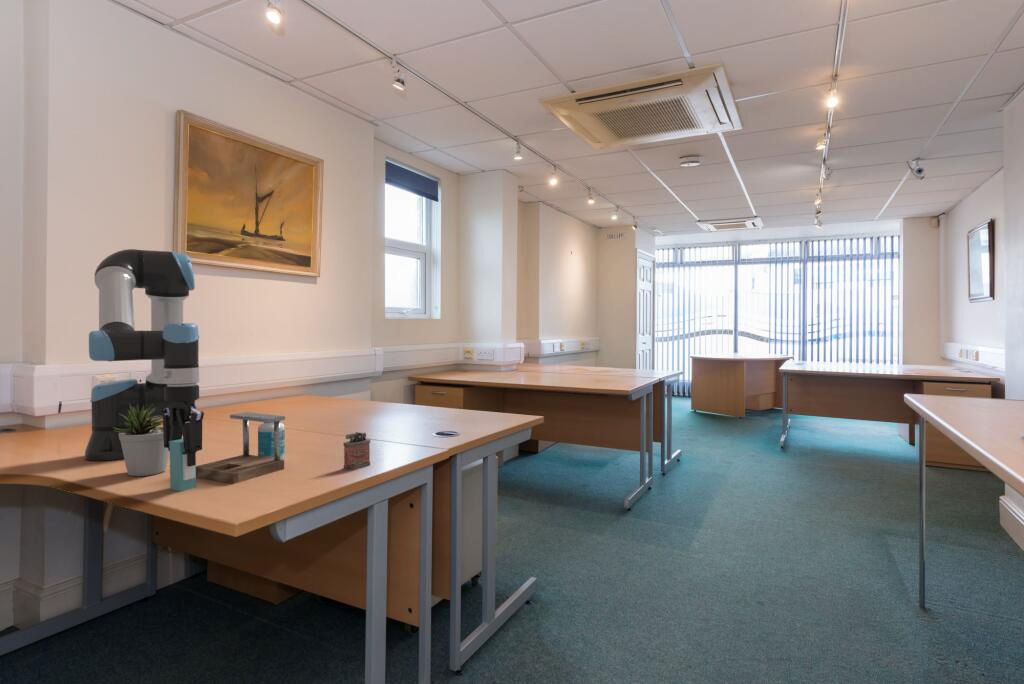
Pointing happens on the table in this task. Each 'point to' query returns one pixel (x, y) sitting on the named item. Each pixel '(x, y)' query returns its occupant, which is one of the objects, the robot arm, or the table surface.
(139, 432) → the potted plant
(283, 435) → the pill bottle
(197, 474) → the socket plate
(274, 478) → the table surface
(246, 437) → the grey metal bridge
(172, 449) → the peg
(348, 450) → the lighter
